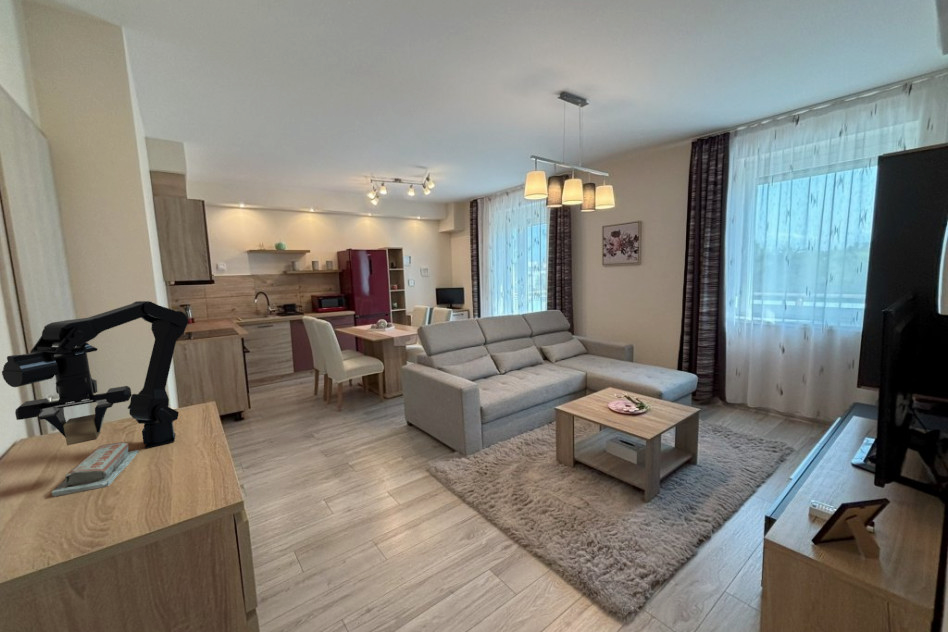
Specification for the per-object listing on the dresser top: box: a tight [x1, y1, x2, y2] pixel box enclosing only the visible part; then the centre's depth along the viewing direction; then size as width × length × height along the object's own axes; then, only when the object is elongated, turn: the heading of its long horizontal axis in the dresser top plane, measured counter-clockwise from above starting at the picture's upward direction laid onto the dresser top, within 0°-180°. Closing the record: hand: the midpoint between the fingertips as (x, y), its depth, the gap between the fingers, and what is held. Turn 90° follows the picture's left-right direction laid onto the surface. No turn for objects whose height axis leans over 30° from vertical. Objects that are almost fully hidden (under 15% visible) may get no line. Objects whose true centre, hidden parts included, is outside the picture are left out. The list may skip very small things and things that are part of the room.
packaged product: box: [51, 441, 140, 497], centre depth 94 cm, size 18×5×10 cm
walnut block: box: [64, 413, 101, 447], centre depth 92 cm, size 5×5×5 cm
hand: (83, 434), depth 92 cm, fingers closed on walnut block, 5 cm apart
